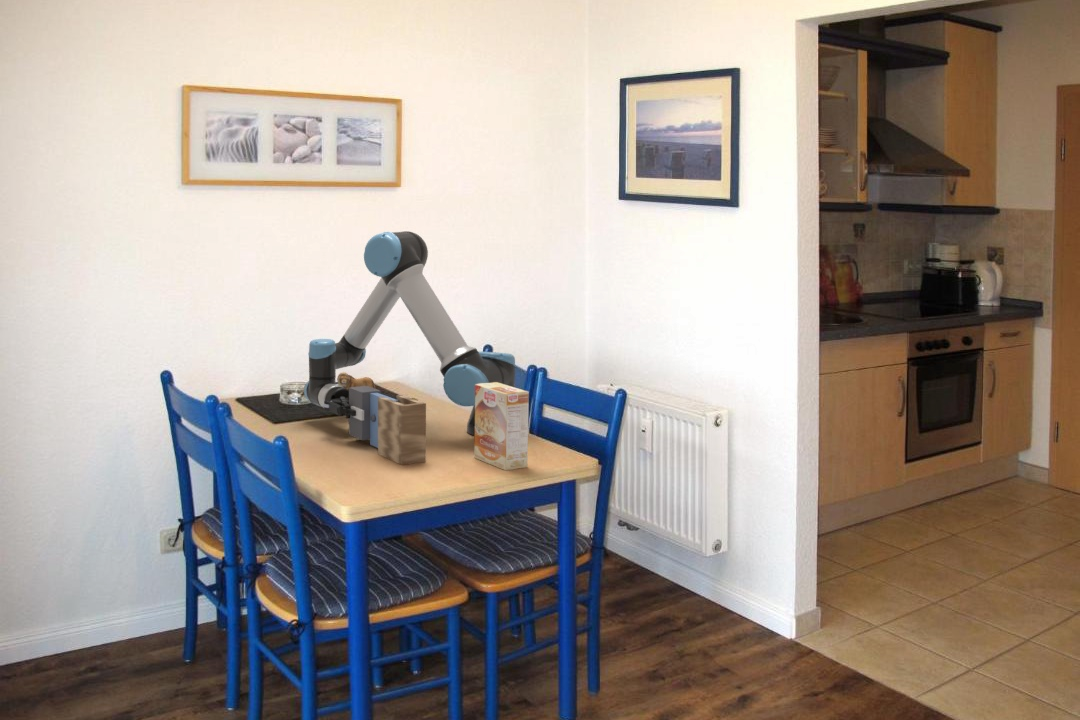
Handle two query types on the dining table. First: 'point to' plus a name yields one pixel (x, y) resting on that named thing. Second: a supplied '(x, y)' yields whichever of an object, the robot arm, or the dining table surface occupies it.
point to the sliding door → (375, 417)
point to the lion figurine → (353, 381)
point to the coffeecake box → (501, 425)
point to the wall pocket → (402, 430)
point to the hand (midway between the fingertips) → (373, 414)
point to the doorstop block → (362, 400)
